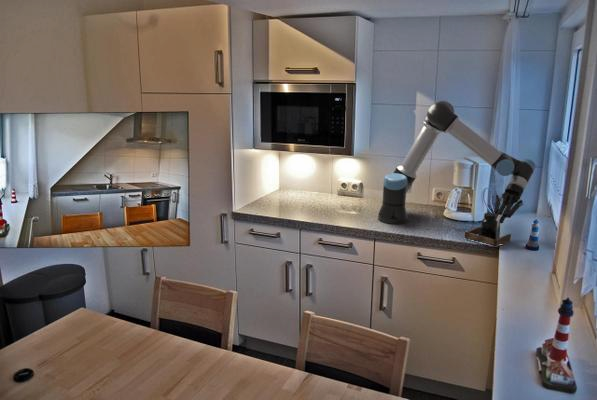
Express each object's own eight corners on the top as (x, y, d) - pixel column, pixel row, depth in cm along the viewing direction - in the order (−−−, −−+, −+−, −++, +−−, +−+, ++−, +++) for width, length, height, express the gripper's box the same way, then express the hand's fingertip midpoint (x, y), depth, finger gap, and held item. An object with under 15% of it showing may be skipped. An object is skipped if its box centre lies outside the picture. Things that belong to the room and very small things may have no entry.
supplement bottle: (490, 234, 222) (491, 210, 218) (499, 239, 215) (501, 215, 212) (477, 236, 220) (478, 212, 216) (486, 242, 214) (488, 217, 210)
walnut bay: (464, 239, 217) (465, 232, 216) (479, 233, 226) (480, 226, 225) (495, 248, 206) (496, 240, 205) (510, 241, 215) (511, 234, 214)
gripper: (531, 194, 222) (510, 235, 216) (504, 189, 231) (484, 228, 225) (528, 185, 217) (507, 226, 211) (500, 180, 227) (479, 220, 220)
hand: (495, 227), depth 218 cm, fingers closed
